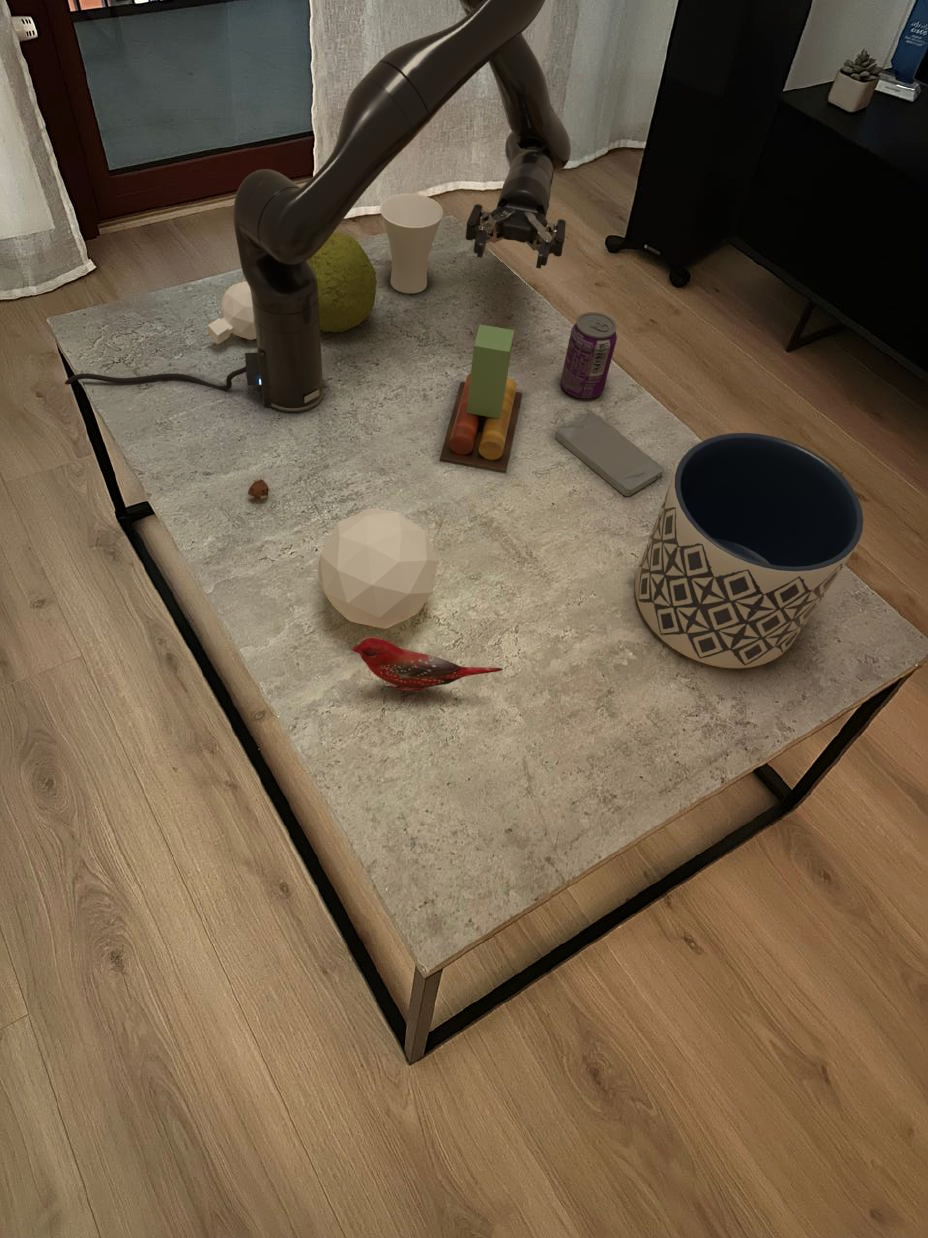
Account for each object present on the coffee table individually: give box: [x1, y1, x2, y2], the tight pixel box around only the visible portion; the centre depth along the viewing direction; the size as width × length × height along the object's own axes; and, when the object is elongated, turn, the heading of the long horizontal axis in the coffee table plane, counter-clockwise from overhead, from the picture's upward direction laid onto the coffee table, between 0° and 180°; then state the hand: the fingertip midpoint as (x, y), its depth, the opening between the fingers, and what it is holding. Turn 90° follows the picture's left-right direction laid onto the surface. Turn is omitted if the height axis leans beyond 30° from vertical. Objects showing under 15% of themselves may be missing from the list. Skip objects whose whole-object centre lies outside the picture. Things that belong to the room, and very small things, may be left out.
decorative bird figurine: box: [350, 637, 504, 692], centre depth 105 cm, size 3×18×10 cm, turn 88°
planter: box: [634, 432, 865, 669], centre depth 113 cm, size 22×22×20 cm
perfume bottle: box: [207, 280, 256, 345], centre depth 143 cm, size 9×9×12 cm
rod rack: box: [439, 373, 523, 474], centre depth 136 cm, size 18×10×4 cm, turn 170°
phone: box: [554, 411, 664, 497], centre depth 136 cm, size 8×16×1 cm, turn 40°
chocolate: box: [247, 473, 272, 501], centre depth 124 cm, size 3×2×4 cm
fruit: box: [307, 231, 378, 333], centre depth 146 cm, size 16×14×15 cm
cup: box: [379, 193, 444, 294], centre depth 153 cm, size 10×10×14 cm
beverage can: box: [560, 311, 618, 399], centre depth 141 cm, size 7×7×12 cm
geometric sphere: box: [317, 507, 439, 630], centre depth 111 cm, size 14×15×15 cm
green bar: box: [467, 323, 515, 419], centre depth 130 cm, size 5×5×12 cm
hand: (509, 257), depth 127 cm, fingers open, 8 cm apart
